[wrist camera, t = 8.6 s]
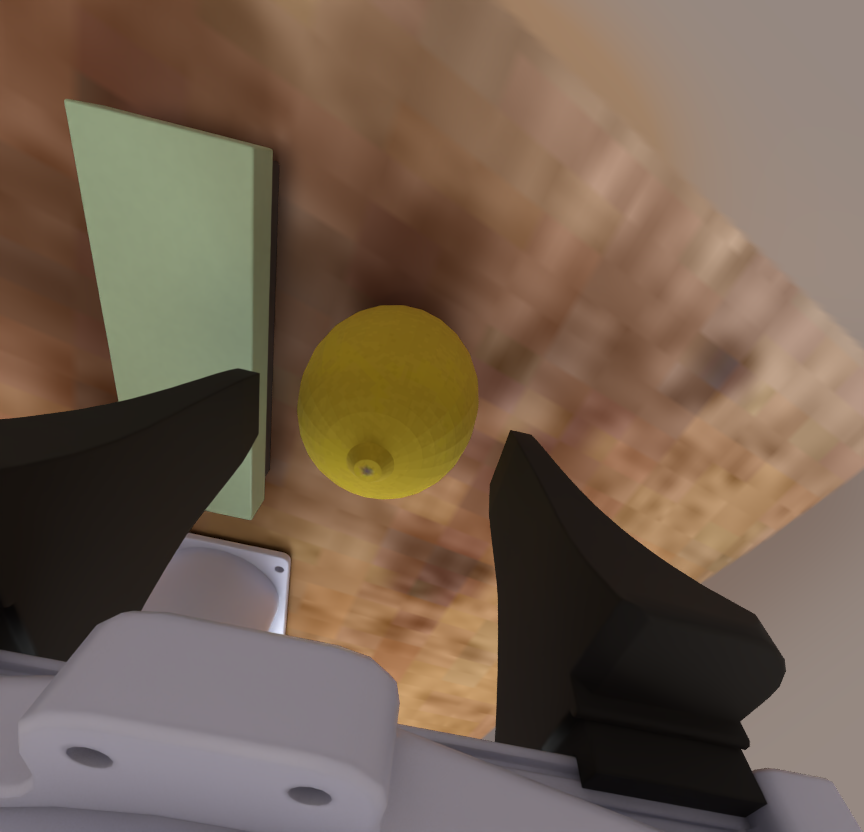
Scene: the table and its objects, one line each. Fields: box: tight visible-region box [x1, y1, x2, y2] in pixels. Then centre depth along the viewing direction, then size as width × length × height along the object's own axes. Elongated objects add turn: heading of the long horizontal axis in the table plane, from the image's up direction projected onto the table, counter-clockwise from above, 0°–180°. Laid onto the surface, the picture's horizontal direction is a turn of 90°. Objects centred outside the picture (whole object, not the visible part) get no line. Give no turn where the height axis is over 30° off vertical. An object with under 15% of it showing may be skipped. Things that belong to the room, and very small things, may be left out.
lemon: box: [297, 305, 478, 499], centre depth 14 cm, size 6×6×8 cm
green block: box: [64, 99, 279, 520], centre depth 16 cm, size 14×5×3 cm, turn 168°
